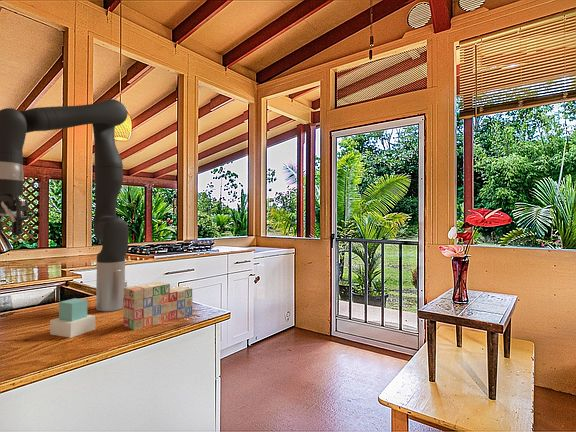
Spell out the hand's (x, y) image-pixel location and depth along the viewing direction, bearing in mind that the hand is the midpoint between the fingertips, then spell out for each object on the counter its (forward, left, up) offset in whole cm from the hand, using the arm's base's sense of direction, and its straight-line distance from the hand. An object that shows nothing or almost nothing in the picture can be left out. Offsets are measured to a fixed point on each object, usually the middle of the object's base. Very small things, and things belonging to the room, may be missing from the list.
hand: (6, 234), depth 101 cm
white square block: (-7, +18, -28) cm, 34 cm away
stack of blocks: (-26, +34, -28) cm, 51 cm away
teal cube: (-7, +18, -24) cm, 31 cm away
